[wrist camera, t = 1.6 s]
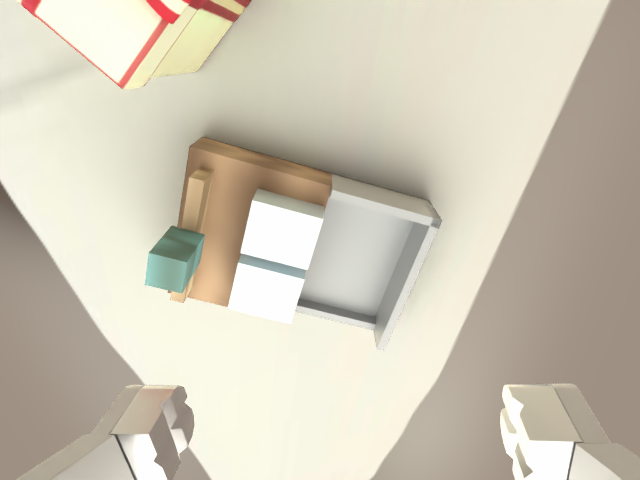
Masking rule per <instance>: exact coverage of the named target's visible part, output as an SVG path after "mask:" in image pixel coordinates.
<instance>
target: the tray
mask: <svg viewBox="0 0 640 480" xmlns="http://www.w3.org/2000/svg"><path fill="white" fill-rule="evenodd" d="M441 222H442V220H441V218H440V217H439V215H438V214H437V212H436V211H435V209H434V207H433V206H432V204H431V203H430V201H428V200H424V199H421V198H417V197H413V196H410V195H406V194H403V193H399V192H396V191H392V190H389V189H385V188H382V187H378V186H374V185H371V184H367V183H364V182H360V181H357V180H353V179H350V178H346V177H342V176H339V175H335V174H332V189H331V192H330V195H329V198H328V202H327V205H326V208H325V211H324V217H323V222H322V226H321V229H320V232H319V235H318V238H317V242H316V245H315V248H314V251H313V254H312V258H311V261H310V264H309V267H308V270H306V273H305V280H304V283H303V287H302V290H301V293H300V296H299V299H298V303H297V306H296V309H295V312H300V313H304V314H308V315H312V316H316V317H320V318H324V319H328V320H332V321H337V322H341V323H345V324H349V325H353V326H357V327H361V328H365V329H369V330H374V335H375V341H376V347H377V349H380V350H385V348H386V345H387V343H388V341H389V339H390V336H391V334H392V332H393V330H394V327H395V325H396V323H397V321H398V318H399V316H400V314H401V312H402V309H403V307H404V305H405V303H406V300H407V298H408V296H409V294H410V291H411V289H412V287H413V285H414V282H415V280H416V278H417V276H418V273H419V271H420V269H421V267H422V264H423V262H424V260H425V258H426V255H427V253H428V251H429V249H430V246H431V244H432V242H433V240H434V237H435V235H436V233H437V231H438V228H439V226H440V224H441Z"/></svg>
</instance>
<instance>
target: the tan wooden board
mask: <svg viewBox="0 0 640 480" xmlns="http://www.w3.org/2000/svg"><path fill="white" fill-rule="evenodd" d="M199 167H202V168H205V169H209V170H213V171H214V172H213V177H212V183H211V188H210V194H209V199H208V205H207V211H206V216H205V222H204V227H203V233H202V234H205V238H204V243H203V249H202V254H201V260H200V263H199V265H198V267H197V268H196V272H195V277H194V283H193V287H192V288H191V290H190V292H189V294H188V296H187V297H189V298H193V299H197V300H201V301H205V302H209V303H214V304H218V305H222V306H226V307H228V305H229V300H230V296H231V292H232V287H233V283H234V278H235V274H236V270H237V265H238V262H239V259H240V257H241V254H242V253H240V252H241V248H242V243H243V239H244V235H245V230H246V226H247V221H248V217H249V213H250V208H251V204H252V200H253V198H254V196H255V193H256V191H257V189H261V190H265V191H269V192H272V193H276V194H280V195H283V196H287V197H291V198H294V199H298V200H302V201H305V202H309V203H313V204H316V205H320V206H324V211H325V208H326V205H327V202H328V198H329V195H330V192H331V189H332V173H328V172H325V171H321V170H318V169H314V168H311V167H307V166H303V165H300V164H296V163H293V162H289V161H286V160H282V159H279V158H275V157H272V156H268V155H264V154H261V153H257V152H254V151H250V150H247V149H243V148H240V147H236V146H232V145H229V144H225V143H222V142H218V141H215V140H211V139H208V138H204V137H202V138H200V139H199V140H198V141H196V142H195V143H194V144H192V145H191V146H190V147H189V154H188V160H187V167H186V174H185V180H184V187H183V194H182V200H181V207H180V214H179V220H178V227H179V228H182V222H183V215H184V209H185V202H186V196H187V189H188V183H189V177H190V176H191V175H192V174H193V173H194V172H195V171H196V170H197V169H198V168H199ZM305 273H306V271H305ZM168 293H172V291H169V290H168Z"/></svg>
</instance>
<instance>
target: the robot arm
mask: <svg viewBox="0 0 640 480" xmlns="http://www.w3.org/2000/svg"><path fill="white" fill-rule="evenodd" d="M186 398H187V394H186V392H185V389H184V387H182V386H171V385H128V386H126V387H125V388H123V389H122V391H121V392H120V394H119V395H118V396H117V398H116V399H115V400H114V402H113V403H112V405H111V406H110V407H109V409H108V410H107V412H106V413H105V414H104V416H103V417H102V418H101V420H100V421H99V423H98V424H97V425H96V427H95V428H94V429H93V431H92V432H91V433H90V434H88V435H86V434H85V435H83V436H81V437H80V438H78V439H77V440H75V441H74V442H72V443H71V444H69V445H68V446H66V447H65V448H63V449H62V450H60V451H59V452H57V453H56V454H54V455H53V456H51V457H49V458H48V459H46V460H45V461H43V462H42V463H40V464H39V465H37V466H36V467H34V468H33V469H31V470H30V471H28V472H27V473H25V474H24V475H22V476H21V477H19V478H18V479H16V480H172V479H173V477H174V475H175V473H176V471H177V469H178V466H179V464H180V462H181V461H180V457H179V453H180V452H181V451H183V450H184V449H185V448H186V447H187V446H188V445H189V442H190V440H191V438H192V434H193V429H194V415H193V412H192V409H191V408H190V407H189V406H188V405H186V404H185V403H184V402H185V400H186ZM502 398H503V400H504V404H505V406H506V407H504V408H503V409H502V410H501V418H500V423H501V434H502V438H503V443H504V446H505V449H506V452H507V454H509V455H510V456H511V457H512V458H513V459H514V461H513V474H514V477H515V480H640V458H639V457H638V456H636V455H635V454H633V453H632V452H630V451H629V450H627V449H626V448H625V447H623V446H622V445H620V444H614V443H611V442H610V440H609V438H608V437H607V435H606V433H605V432H604V430H603V429H602V427H601V425H600V424H599V422H598V420H597V419H596V417H595V415H594V414H593V412H592V410H591V409H590V407H589V405H588V404H587V402H586V400H585V399H584V397H583V395H582V394H581V392H580V391H579V389H578V387H577V386H576V385H574V384H518V385H517V384H516V385H514V384H512V385H511V384H510V385H504V387H503V394H502Z"/></svg>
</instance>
